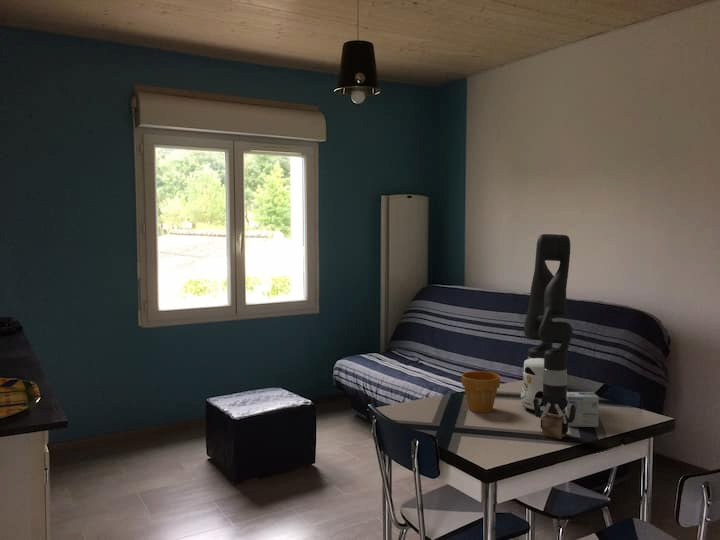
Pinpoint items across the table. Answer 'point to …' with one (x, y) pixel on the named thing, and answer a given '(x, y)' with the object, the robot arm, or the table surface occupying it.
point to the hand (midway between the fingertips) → (554, 431)
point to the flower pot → (480, 390)
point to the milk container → (533, 383)
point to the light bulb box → (583, 409)
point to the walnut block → (552, 426)
